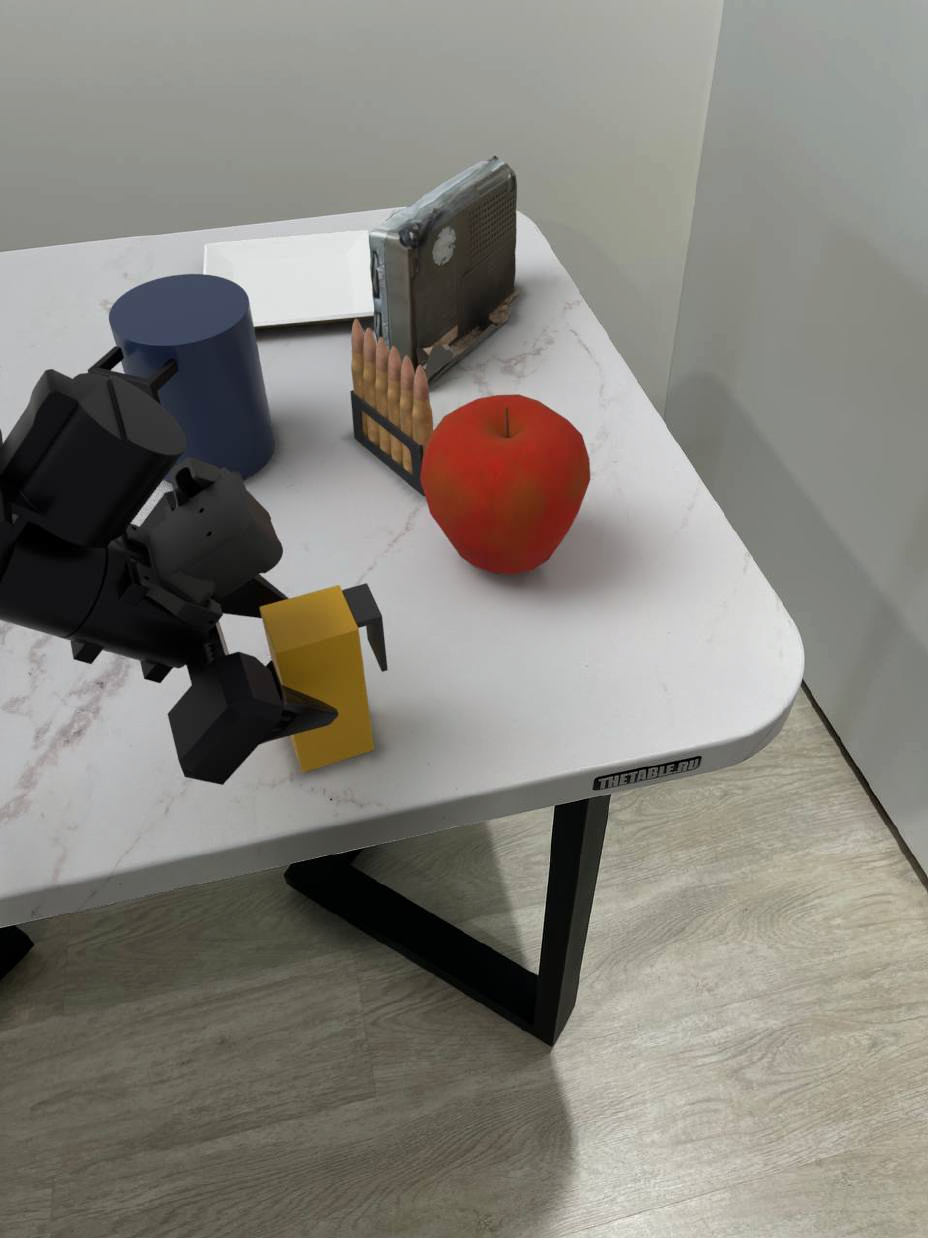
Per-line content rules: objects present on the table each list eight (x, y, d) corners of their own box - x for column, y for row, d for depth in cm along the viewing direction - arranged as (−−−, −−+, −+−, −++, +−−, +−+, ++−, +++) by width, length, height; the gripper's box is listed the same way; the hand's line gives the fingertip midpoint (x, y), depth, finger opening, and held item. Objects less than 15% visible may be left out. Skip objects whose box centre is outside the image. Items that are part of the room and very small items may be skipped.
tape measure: (302, 773, 67) (275, 652, 58) (287, 728, 69) (259, 606, 60) (397, 743, 68) (385, 621, 60) (378, 700, 71) (364, 577, 62)
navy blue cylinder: (215, 525, 84) (178, 380, 74) (103, 495, 87) (53, 351, 76) (296, 428, 93) (273, 286, 83) (193, 403, 96) (159, 264, 85)
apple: (401, 582, 79) (388, 434, 69) (464, 491, 86) (461, 345, 76) (549, 629, 75) (560, 480, 65) (602, 530, 83) (618, 382, 72)
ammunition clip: (441, 487, 87) (436, 366, 78) (424, 496, 86) (417, 374, 77) (370, 429, 92) (359, 310, 84) (353, 437, 92) (340, 317, 83)
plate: (388, 330, 104) (386, 311, 103) (204, 347, 102) (200, 329, 101) (371, 245, 117) (370, 227, 115) (207, 259, 115) (204, 241, 114)
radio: (486, 271, 112) (487, 132, 101) (552, 293, 109) (560, 151, 98) (351, 368, 99) (334, 220, 89) (420, 396, 96) (412, 246, 85)
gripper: (200, 596, 43) (450, 685, 54) (133, 370, 55) (348, 479, 66) (68, 761, 47) (325, 813, 58) (32, 516, 59) (250, 597, 70)
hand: (313, 662), depth 63 cm, fingers open, 9 cm apart
